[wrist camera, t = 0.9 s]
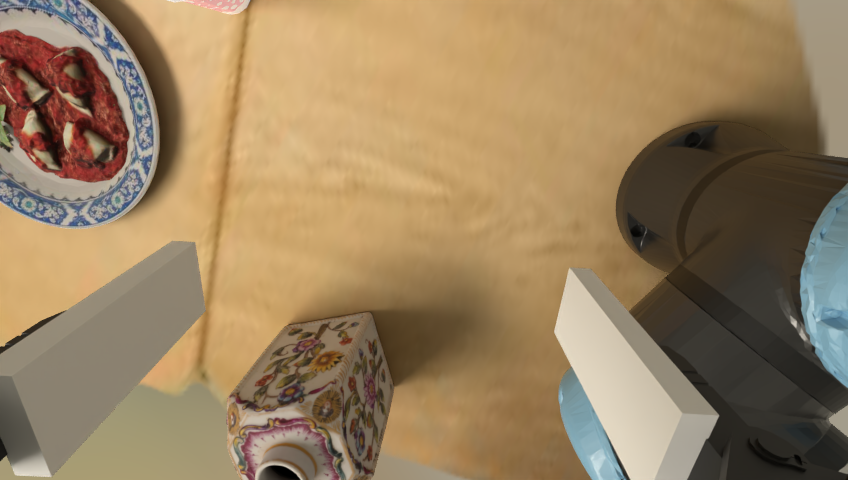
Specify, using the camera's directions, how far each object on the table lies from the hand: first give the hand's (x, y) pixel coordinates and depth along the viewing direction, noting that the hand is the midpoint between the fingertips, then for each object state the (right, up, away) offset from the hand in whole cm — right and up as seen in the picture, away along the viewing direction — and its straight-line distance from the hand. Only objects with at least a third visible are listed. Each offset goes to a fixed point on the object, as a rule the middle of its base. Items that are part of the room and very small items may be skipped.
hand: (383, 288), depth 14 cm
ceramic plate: (-38, +16, +29) cm, 51 cm away
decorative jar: (-9, -13, +36) cm, 39 cm away
